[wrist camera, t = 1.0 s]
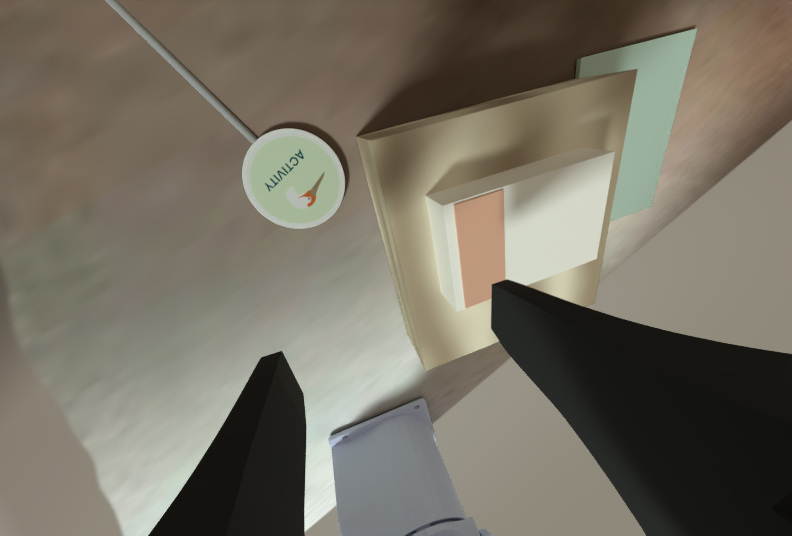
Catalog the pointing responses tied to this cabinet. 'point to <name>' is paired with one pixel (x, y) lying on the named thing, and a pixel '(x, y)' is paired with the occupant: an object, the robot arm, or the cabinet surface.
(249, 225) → the cabinet surface
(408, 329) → the cream piece
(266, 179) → the sign
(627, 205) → the mat
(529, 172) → the white striped box
